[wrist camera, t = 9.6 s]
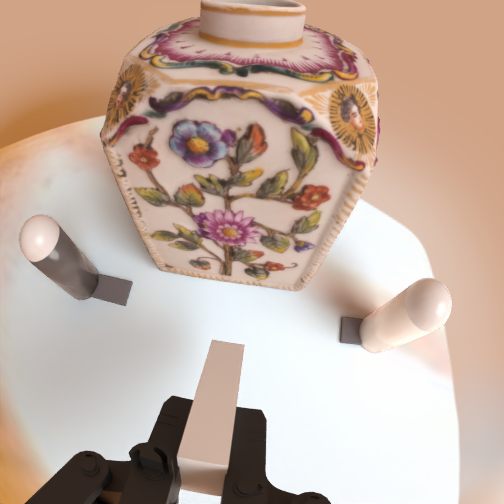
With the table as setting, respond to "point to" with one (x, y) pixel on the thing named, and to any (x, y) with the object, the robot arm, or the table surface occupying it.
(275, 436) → the table surface
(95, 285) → the pepper shaker
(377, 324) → the salt shaker
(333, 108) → the decorative jar
